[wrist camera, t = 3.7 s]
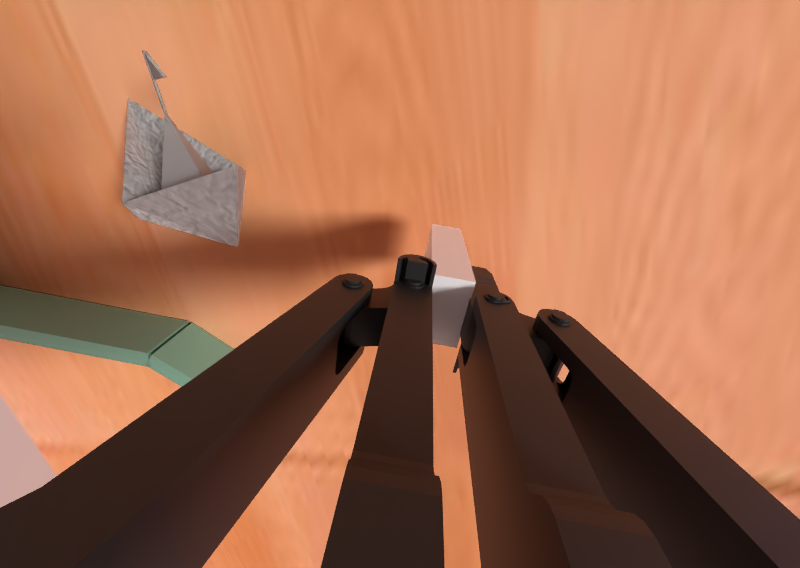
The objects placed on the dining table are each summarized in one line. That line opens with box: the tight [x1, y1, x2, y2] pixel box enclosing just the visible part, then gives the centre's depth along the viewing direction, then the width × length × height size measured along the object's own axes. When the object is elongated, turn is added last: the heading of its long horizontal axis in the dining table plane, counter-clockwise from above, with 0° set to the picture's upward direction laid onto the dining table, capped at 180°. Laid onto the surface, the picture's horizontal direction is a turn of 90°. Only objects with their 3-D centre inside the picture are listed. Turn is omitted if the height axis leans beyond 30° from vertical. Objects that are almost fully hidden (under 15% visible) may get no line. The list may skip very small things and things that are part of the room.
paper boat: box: [122, 51, 246, 247], centre depth 17 cm, size 12×6×9 cm
